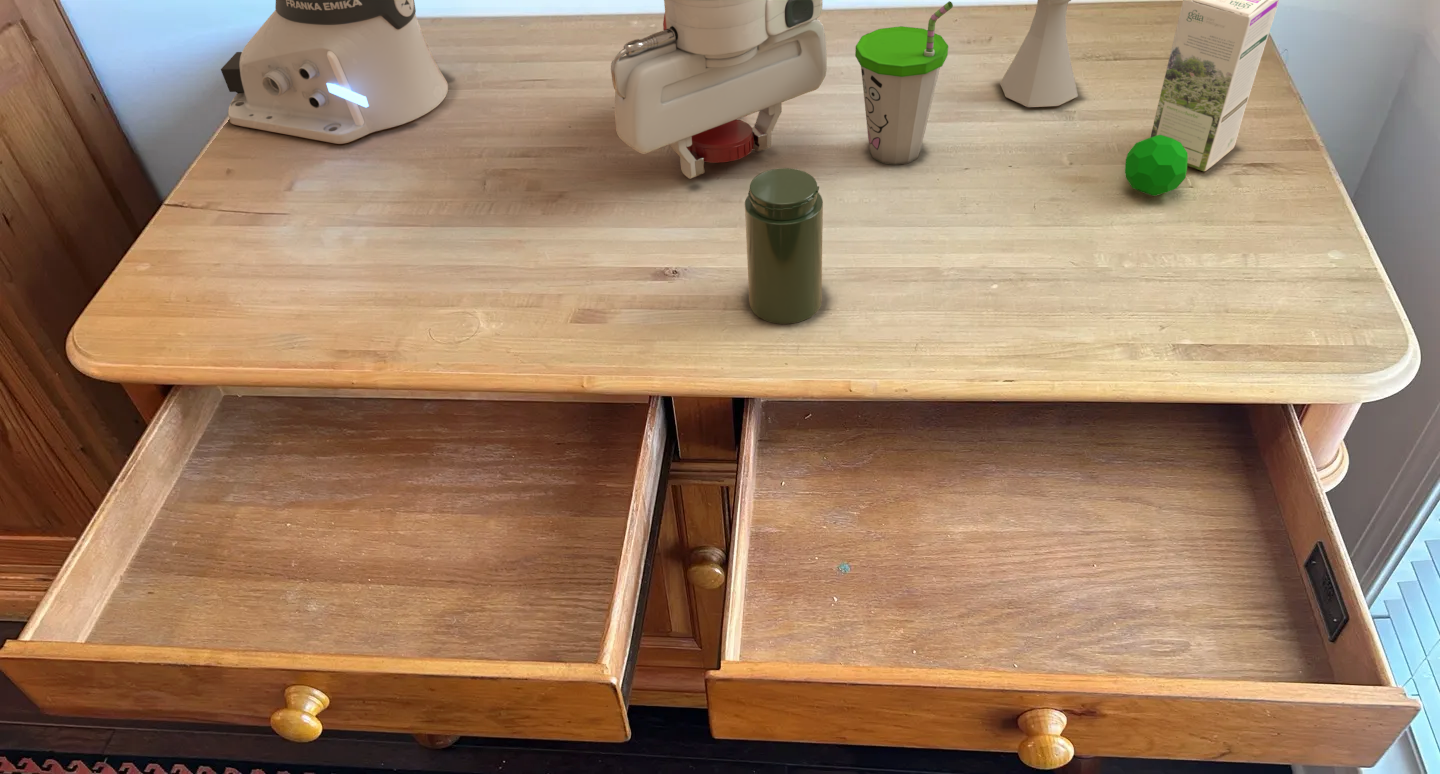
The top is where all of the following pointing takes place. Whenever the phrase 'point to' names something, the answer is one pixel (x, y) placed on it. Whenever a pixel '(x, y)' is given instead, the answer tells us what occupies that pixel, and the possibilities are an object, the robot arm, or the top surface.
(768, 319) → the jar
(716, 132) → the lid
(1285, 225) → the top surface
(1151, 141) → the polyhedron
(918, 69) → the cup
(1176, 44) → the syrup box
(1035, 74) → the flask
